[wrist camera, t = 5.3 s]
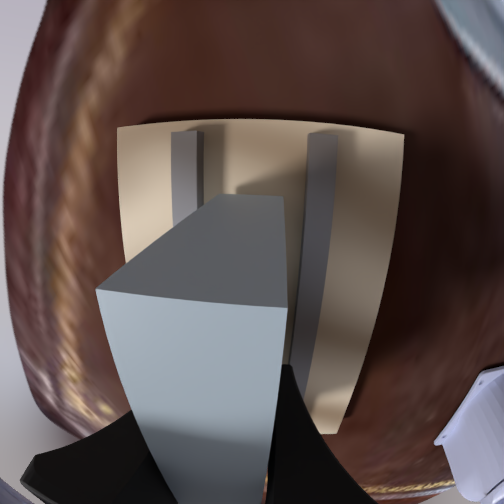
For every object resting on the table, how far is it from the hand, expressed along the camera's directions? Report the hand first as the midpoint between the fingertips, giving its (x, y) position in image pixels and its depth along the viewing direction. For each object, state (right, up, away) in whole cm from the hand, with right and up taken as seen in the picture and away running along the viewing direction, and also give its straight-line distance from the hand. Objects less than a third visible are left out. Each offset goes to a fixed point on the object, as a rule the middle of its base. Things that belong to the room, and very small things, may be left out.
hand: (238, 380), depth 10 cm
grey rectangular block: (0, +1, +3) cm, 3 cm away
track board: (+1, +2, +5) cm, 5 cm away
